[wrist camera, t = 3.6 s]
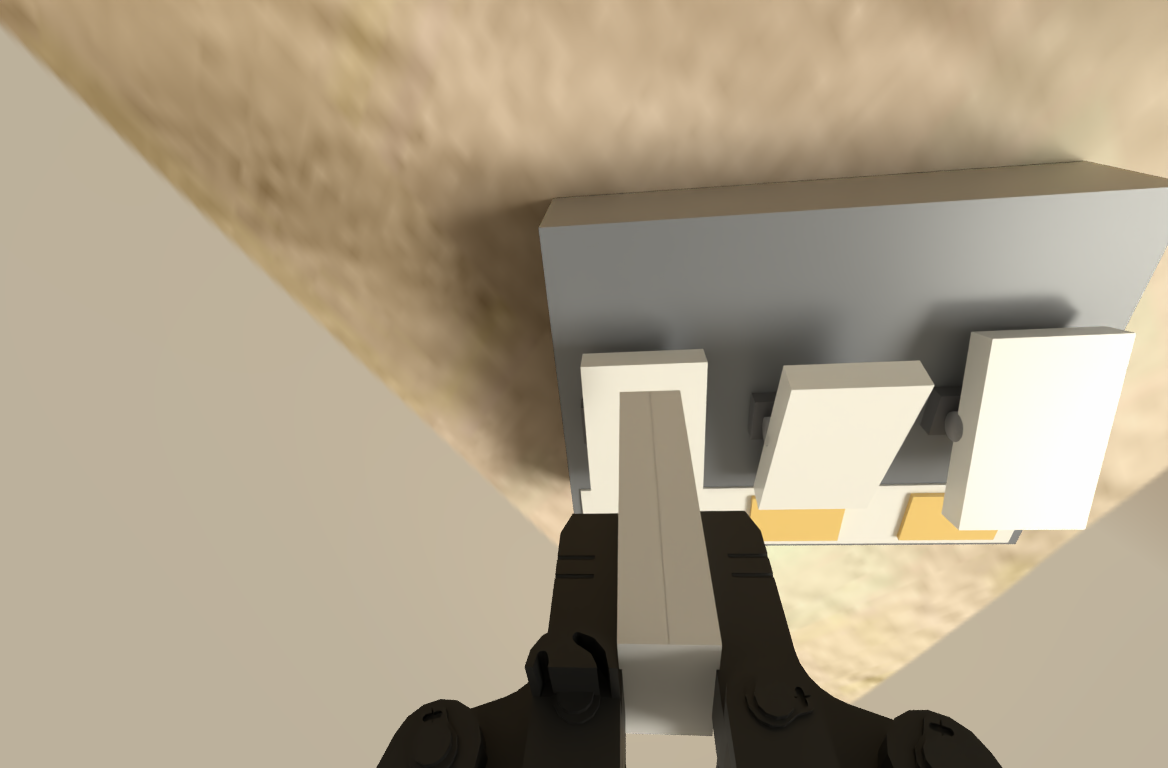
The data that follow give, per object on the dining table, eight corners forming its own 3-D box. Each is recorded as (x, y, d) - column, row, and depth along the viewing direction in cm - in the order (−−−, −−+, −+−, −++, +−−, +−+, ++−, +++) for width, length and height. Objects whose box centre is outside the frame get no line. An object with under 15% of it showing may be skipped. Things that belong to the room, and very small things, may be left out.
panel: (553, 198, 19) (535, 233, 15) (1086, 160, 17) (1220, 190, 14) (583, 484, 26) (577, 557, 23) (961, 477, 25) (1025, 555, 21)
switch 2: (779, 351, 16) (791, 390, 15) (911, 346, 15) (934, 385, 14) (750, 473, 20) (758, 509, 19) (852, 471, 20) (866, 508, 19)
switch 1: (584, 346, 17) (580, 367, 16) (700, 341, 17) (707, 362, 15) (596, 498, 20) (594, 527, 19) (695, 497, 20) (701, 527, 18)
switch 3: (959, 327, 17) (992, 338, 15) (1088, 322, 16) (1136, 333, 15) (931, 504, 19) (959, 530, 17) (1046, 503, 18) (1085, 529, 17)
